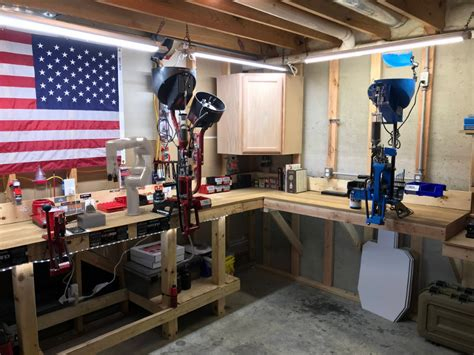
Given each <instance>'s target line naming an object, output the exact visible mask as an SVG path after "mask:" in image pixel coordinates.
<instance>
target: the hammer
mask: <svg viewBox="0 0 474 355" xmlns="http://www.w3.org/2000/svg"><path fill="white" fill-rule="evenodd" d="M89 211H96V212H97V210H96V208H95V206H94V205H93V204H87V205H86V206H85V211H80V212H79V213H78V212H77V213H74V214H69V215H65V217H66V220H67V222H68V223H71V222H74V221H77V215H83V214H84V212H89ZM68 223H67V224H68Z"/></svg>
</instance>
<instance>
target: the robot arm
mask: <svg viewBox="0 0 474 355" xmlns="http://www.w3.org/2000/svg"><path fill="white" fill-rule="evenodd" d="M129 149H133V155H134V161H133V165H132V167H131V168H130V174H131V175H126V176H125V177H124V182H123V183H124V186H125V192H126V194H125V195H126V212H125V216H129V217H130V216H131V217H133V216H139V215H142V211H146V208H145V207H143V208H142V207H140V196H139V195H140V194H139V190H138V188H145V187H146V185H147V183H148V181H149V178H150V176H151V171H152V170H151V167H150V166H149V165H148V164H146V160H145V158H144V156H152V155H153V154H154V153H155V152H154V150H155V148H154V147H153V145H152V143H151V142H150V140H149V139H148V138H147V137H145V136H130V137H124V138H123V137H122V138H116V139H111V140H107V141H105V158H106V173H107V174H106V177H107V181H108V182H112V181H113V183H118V182H119V178H118V177H119V164H118V153H117V152H121V151H123V150H129Z"/></svg>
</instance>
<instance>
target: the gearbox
mask: <svg viewBox="0 0 474 355" xmlns="http://www.w3.org/2000/svg"><path fill="white" fill-rule="evenodd" d="M83 212H84V214H83V215H77V220H76V225H77V227H78V226H79V227H78V228H80V227H81V228H80V229H82V228H83V229H82V230H88V229H87V228H89V229H94V228H99V227H105V226H106V225H107V222H106V214H105V213H103V212H99V211H97V210H96V211H89V212H85V211H83Z"/></svg>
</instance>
